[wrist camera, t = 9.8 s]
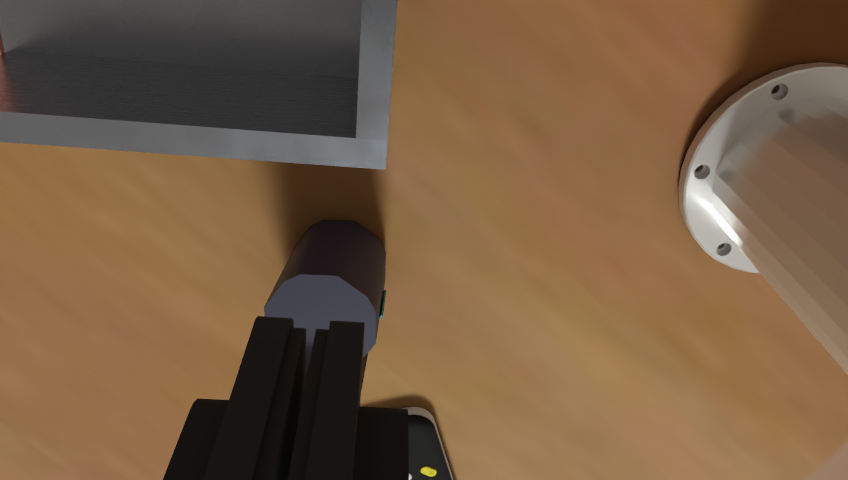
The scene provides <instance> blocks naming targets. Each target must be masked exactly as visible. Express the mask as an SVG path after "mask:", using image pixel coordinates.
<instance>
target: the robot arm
mask: <svg viewBox="0 0 848 480" xmlns="http://www.w3.org/2000/svg"><path fill="white" fill-rule="evenodd" d="M774 87H775V88H774ZM773 88H774V90H772V89H773ZM698 166H699V168H697V167H698ZM696 168H697V169H696ZM678 192H679V207H680V210H681V213H682V217H683V220H684V223H685V225H686V226H687V228H688V230H689V231H690V233H691V235H692V236H693V238H694V239H695V240H696V241H697V243H698V244H699V245H700V246H701V247H702V249H703V250H704V251H705V252H706V253H708V254H709V255H710V256H711V257H712V258H714V259H715V260H717V261H719V262H721V263H723V264H725V265H727V266H729V267H731V268H734V269H738V270H742V271H746V272H750V273H760V274H761V275H762V276H763V277H764V278H765V280H766V281H767V282H768V283H769V284H770V285H771V286H772V288H773V289H774V290H775V291H776V292H777V293H778V295H779V296H780V297H781V298H782V299H783V300H784V302H785V303H786V304H787V305H788V306H789V307H790V309H791V310H792V311H793V312H794V313H795V314H796V315H797V317H798V318H799V319H800V320H801V321H802V322H803V324H804V325H805V326H806V327H807V328H808V329H809V331H810V332H811V333H812V334H813V335H814V336H815V337H816V339H817V340H818V341H819V342H820V343H821V344H822V346H823V347H824V348H825V349H826V350H827V351H828V353H829V354H830V355H831V356H832V357H833V358H834V359H835V361H836V362H837V363H838V364H839V365H840V366H841V368H842V369H843V370H844V371H845V372H846V373H847V375H848V66H847V65H844V64H836V63H824V62H817V63H808V64H798V65H794V66H791V67H787V68H784V69H780V70H777V71H774V72H772V73H769V74H767V75H765V76H763V77H761V78H759V79H757V80H755V81H752V82H751V83H749V84H748V85H746V86H745V87H743V88H742V89H740V90H739V91H737V92H736V93H734V94H733V95H731V96H730V97H729V98H728V99H727V100H726V101H725V102H724V103H723V104H722V105H721V106H719V107H718V108H717V109H716V110H715V111H714V112H713V113H712V114H711V116H710V117H709V118H708V119H707V121H706V122H705V123H704V124H703V126H702V127H701V128H700V129H699V131H698V133H697V134H696V136H695V138H694V140H693V142H692V143H691V145H690V147H689V149H688V151H687V154H686V157H685V159H684V162H683V165H682V168H681V173H680V180H679V187H678ZM364 329H365V322H349V321H332V320H331V321H330V325H329V330H327V329H316V331H315V336H314V342H313V347H312V352H311V358H310V363H309V368H308V374H307V379H306V329H305V328H294V322H293V319H292V318H280V317H263V316H258V317H256V320H255V322H254V325H253V328H252V331H251V334H250V338H249V341H248V344H247V347H246V350H245V353H244V356H243V359H242V362H241V365H240V368H239V371H238V375H237V378H236V381H235V384H234V387H233V390H232V393H231V396H230V399H229V400H214V399H197V400H196V401H195V402H194V403H193V405H192V407H191V409H190V411H189V414H188V417H187V419H186V422H185V424H184V427H183V429H182V432H181V435H180V437H179V440H178V442H177V445H176V447H175V450H174V453H173V455H172V458H171V460H170V463H169V465H168V468H167V470H166V473H165V476H164V478H163V480H409V437H408V409H394V408H374V407H360V396H361V379H362V363H363V346H364Z"/></svg>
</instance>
